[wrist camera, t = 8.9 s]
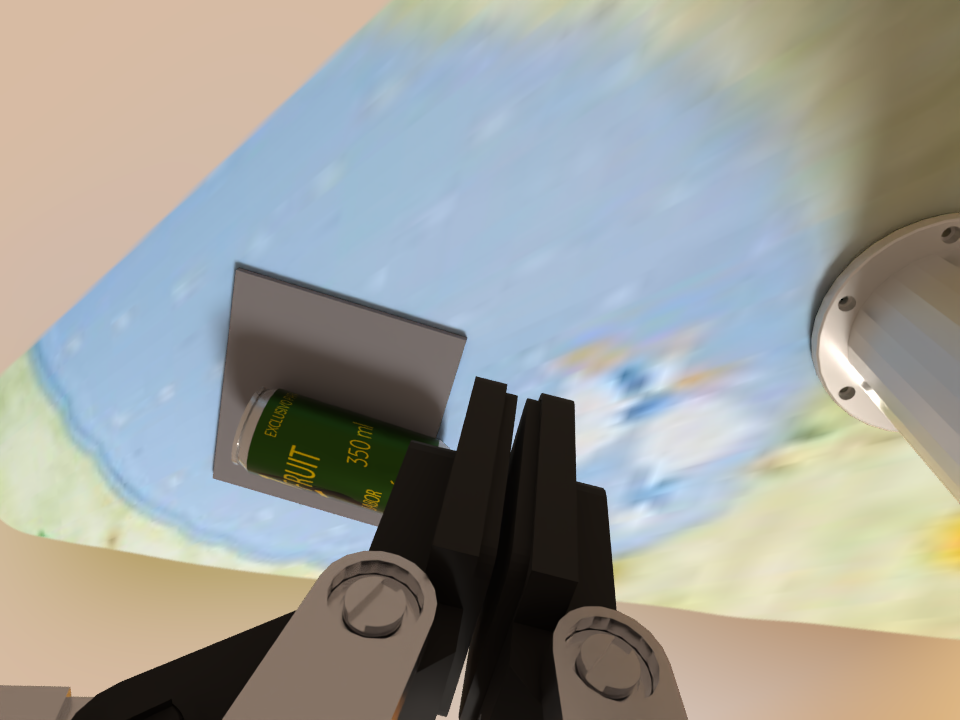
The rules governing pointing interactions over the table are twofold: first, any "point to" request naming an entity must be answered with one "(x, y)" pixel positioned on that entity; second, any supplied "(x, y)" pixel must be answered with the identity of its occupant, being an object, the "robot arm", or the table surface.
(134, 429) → the table surface
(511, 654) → the robot arm
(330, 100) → the table surface
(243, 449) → the green soda can
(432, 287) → the table surface
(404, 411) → the mat
